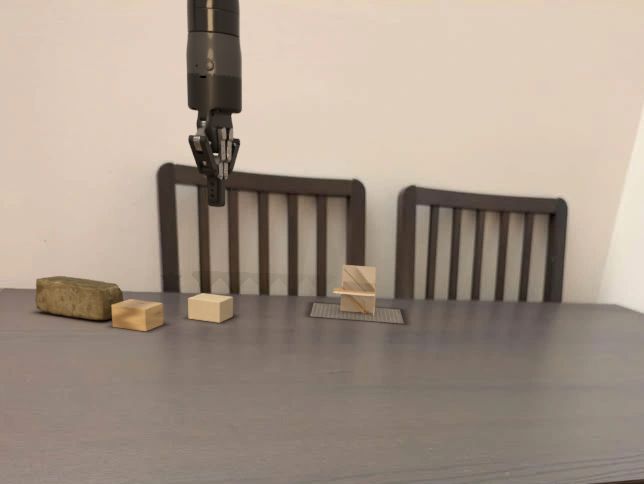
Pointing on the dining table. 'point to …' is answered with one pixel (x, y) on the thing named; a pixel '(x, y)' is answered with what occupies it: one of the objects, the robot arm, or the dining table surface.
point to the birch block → (137, 315)
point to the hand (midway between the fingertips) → (216, 206)
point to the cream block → (210, 307)
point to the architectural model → (357, 298)
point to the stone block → (77, 297)
